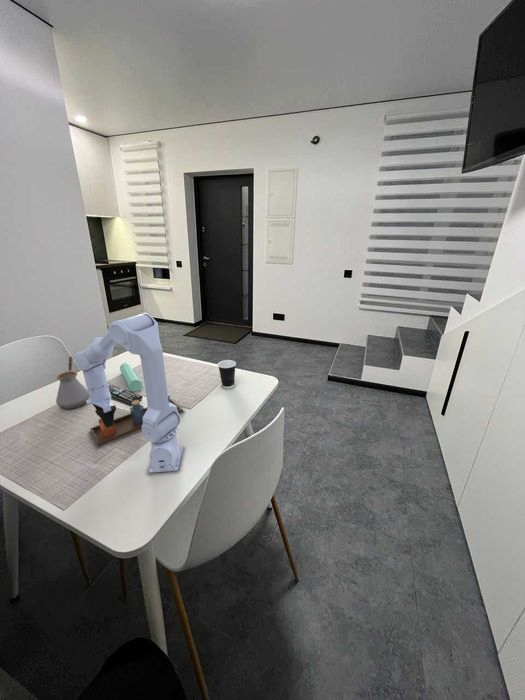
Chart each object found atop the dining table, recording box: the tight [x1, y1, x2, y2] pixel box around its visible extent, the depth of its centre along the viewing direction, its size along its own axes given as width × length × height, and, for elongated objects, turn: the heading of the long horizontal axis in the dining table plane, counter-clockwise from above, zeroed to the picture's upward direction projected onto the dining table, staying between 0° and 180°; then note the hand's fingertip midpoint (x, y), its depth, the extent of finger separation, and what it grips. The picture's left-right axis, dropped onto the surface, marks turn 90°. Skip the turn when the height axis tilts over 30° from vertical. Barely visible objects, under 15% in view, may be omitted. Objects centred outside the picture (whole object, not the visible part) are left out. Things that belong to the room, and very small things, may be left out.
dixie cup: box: [217, 359, 237, 389], centre depth 126 cm, size 8×8×11 cm
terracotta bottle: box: [97, 417, 116, 437], centre depth 96 cm, size 4×4×8 cm
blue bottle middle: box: [129, 399, 145, 425], centre depth 102 cm, size 4×4×8 cm
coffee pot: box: [55, 356, 90, 410], centre depth 116 cm, size 21×12×15 cm, turn 25°
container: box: [119, 362, 143, 393], centre depth 132 cm, size 6×6×25 cm
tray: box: [89, 398, 184, 447], centre depth 103 cm, size 29×10×2 cm, turn 131°
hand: (106, 420), depth 95 cm, fingers open, 7 cm apart
